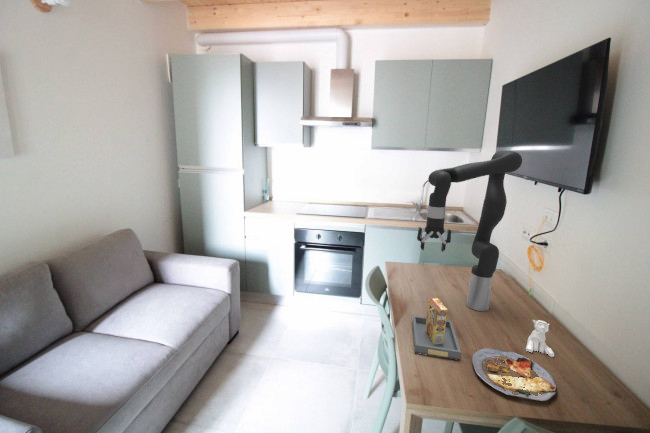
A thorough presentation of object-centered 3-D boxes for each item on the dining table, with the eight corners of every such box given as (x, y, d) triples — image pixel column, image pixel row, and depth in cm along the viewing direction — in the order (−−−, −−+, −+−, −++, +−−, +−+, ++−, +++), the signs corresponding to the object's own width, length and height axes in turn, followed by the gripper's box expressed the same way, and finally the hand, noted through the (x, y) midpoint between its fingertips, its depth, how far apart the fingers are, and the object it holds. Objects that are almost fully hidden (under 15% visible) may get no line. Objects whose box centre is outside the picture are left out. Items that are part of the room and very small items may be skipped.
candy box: (443, 344, 120) (448, 309, 116) (433, 345, 120) (437, 309, 116) (433, 331, 129) (438, 298, 125) (424, 331, 128) (428, 298, 125)
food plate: (537, 359, 114) (539, 351, 113) (571, 411, 92) (573, 402, 91) (465, 349, 120) (466, 341, 119) (480, 396, 98) (482, 387, 97)
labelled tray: (450, 328, 132) (451, 321, 132) (460, 361, 112) (461, 353, 111) (412, 322, 136) (412, 315, 135) (414, 353, 116) (415, 345, 115)
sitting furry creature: (526, 353, 118) (532, 325, 115) (518, 339, 126) (524, 313, 123) (554, 358, 116) (561, 330, 113) (545, 344, 124) (551, 317, 121)
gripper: (451, 215, 139) (447, 248, 143) (418, 213, 142) (415, 246, 146) (454, 218, 132) (450, 254, 136) (420, 216, 135) (417, 251, 138)
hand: (432, 250), depth 141 cm, fingers open, 8 cm apart
